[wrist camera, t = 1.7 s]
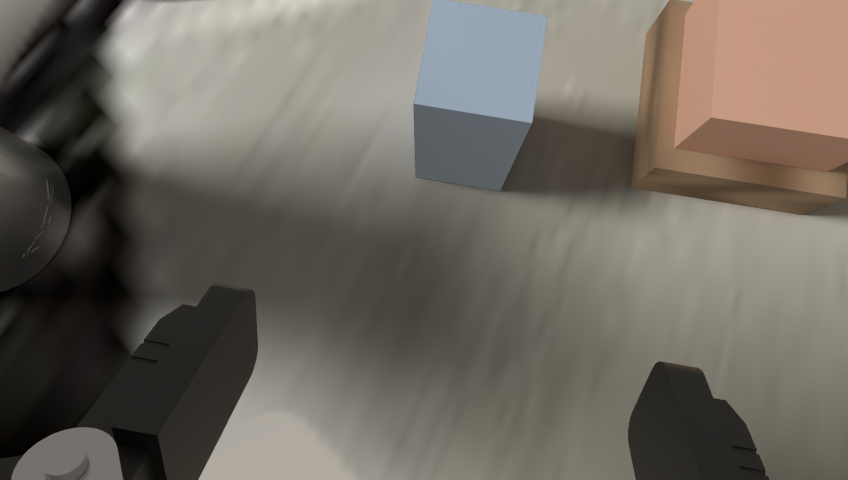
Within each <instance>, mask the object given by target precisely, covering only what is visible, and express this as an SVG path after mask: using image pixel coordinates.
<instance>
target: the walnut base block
mask: <svg viewBox="0 0 848 480" xmlns="http://www.w3.org/2000/svg"><path fill="white" fill-rule="evenodd" d="M692 4H693V3H691V2H685V1H678V0H669V2H668V3H667V5H666V6H665V8H664V9H663V10H662V12H661V13H660V15H659V16H658V18H657V19H656V21H655V22H654V24H653V25H652V26H651V28H650V29H649V31H648V32H647V34H646V41H645V51H644V61H643V71H642V81H641V91H640V101H639V111H638V121H637V131H636V141H635V151H634V160H633V170H632V180H631V187H632V188H638V189H644V190H650V191H657V192H663V193H669V194H675V195H681V196H688V197H694V198H700V199H706V200H712V201H718V202H725V203H731V204H737V205H743V206H749V207H756V208H762V209H768V210H774V211H780V212H787V213H793V214H799V215H804V214H807V213H809V212H812V211H815V210H817V209H820V208H822V207H825V206H828V205H830V204H833V203H836V202H838V201H841V200H843V199H846V198H847V163H845V164H842V165H840V166H838V167H836V168H834V169H832V170H829V171H827V172H825V171H818V170H812V169H805V168H799V167H793V166H786V165H780V164H773V163H767V162H760V161H754V160H748V159H741V158H735V157H728V156H722V155H716V154H709V153H703V152H696V151H690V150H684V149H677V148H674V145H675V133H676V121H677V109H678V97H679V85H680V73H681V61H682V49H683V37H684V25H685V13H686V12H687V11H688V9H689V8H690V7H691V5H692Z"/></svg>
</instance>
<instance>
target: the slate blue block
mask: <svg viewBox="0 0 848 480" xmlns="http://www.w3.org/2000/svg"><path fill="white" fill-rule="evenodd" d="M547 17H548V16H544V15H538V14H532V13H525V12H519V11H513V10H507V9H500V8H494V7H488V6H481V5H475V4H469V3H462V2H456V1H450V0H433V4H432V9H431V14H430V19H429V25H428V30H427V35H426V40H425V46H424V51H423V56H422V61H421V67H420V72H419V77H418V82H417V88H416V93H415V98H414V103H413V105H414V139H415V173H416V177H419V178H424V179H430V180H436V181H442V182H448V183H454V184H460V185H466V186H472V187H478V188H484V189H490V190H496V191H500V190H501V188H502V186H503V184H504V182H505V180H506V178H507V175H508V173H509V171H510V169H511V167H512V165H513V163H514V161H515V158H516V156H517V154H518V152H519V150H520V148H521V146H522V144H523V141H524V139H525V137H526V135H527V133H528V131H529V129H530V127H531V124H532V120H533V114H534V107H535V100H536V93H537V86H538V79H539V72H540V65H541V58H542V52H543V45H544V38H545V31H546V24H547Z"/></svg>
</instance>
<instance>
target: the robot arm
mask: <svg viewBox="0 0 848 480" xmlns="http://www.w3.org/2000/svg"><path fill="white" fill-rule="evenodd" d="M70 217H71V194H70V190H69V186H68V182H67V180H66V178H65V176H64V174H63V172H62V170H61V169H60V167H59V166H58V165H57V164H56V162H55V161H54V160H53V159H52V158H51V157H50V156H49V155H48V154H46V153H45V152H43V151H42V150H40V149H39V148H37V147H36V146H34V145H32V144H30V143H28V142H27V141H25V140H23V139H21V138H19V137H18V136H16V135H14V134H12V133H10V132H9V131H7V130H5V129H3V128H1V127H0V292H3V291H7V290H9V289H11V288H14V287H16V286H18V285H20V284H23V283H24V282H26V281H27V280H29V279H30V278H31V277H33V276H34V275H36V274H37V273H39V272H40V271H41V270H42V269H43V268H44V267H45V266H46V265H47V264H48V262H49V261H50V260H51V259H52V258H53V256H54V255H55V253H56V252H57V250H58V249H59V248H60V246H61V245H62V242H63V240H64V237H65V235H66V233H67V230H68V227H69V222H70ZM257 350H258V340H257V322H256V304H255V294H254V292H253V290H250V289H244V288H238V287H232V286H226V285H220V284H214V285H212V286H211V287H210V288H209V290H208V291H207V293H206V294H205V295H204V297H203V298H202V300H201V301H200V302H199V304H198V305H197V307H194V306H189V305H181V306H180V307H178V308H177V309H175V310H174V311H172V312H171V313H169V314H168V315H166V316H164V317H163V318H161V319H160V320H159V321H158V322H157V324H156V325H155V326H154V327H153V329H152V330H151V331H150V333H149V334H148V335H147V336H146V338H145V339H144V343H143V344H140V346H139V347H138V348H137V349H136V351H135V352H134V353H133V355H132V357H131V360H128V361H127V362H126V364H125V365H124V366H123V368H122V369H121V370H120V371H119V373H118V374H117V375H116V377H115V378H114V379H113V380H112V382H111V383H110V384H109V386H108V387H107V388H106V390H105V391H104V392H103V393H102V395H101V396H100V397H99V399H98V400H97V401H96V403H95V404H94V405H93V406H92V408H91V409H90V410H89V412H88V413H87V414H86V415H85V417H84V418H83V419H82V421H81V422H80V423H79V424H78V425H77V426H76V427H75V428H71V429H67V430H63V431H60V432H58V433H55V434H53V435H50V436H48V437H46V438H45V439H43V440H41V441H40V442H38V443H37V444H35V445H34V446H33V447H32V448H30V449H29V450H28V451H27V452H26V453H25V454H24V455H22V456H16V457H9V458H0V480H198V479H199V477H200V475H201V473H202V471H203V469H204V467H205V465H206V463H207V461H208V459H209V457H210V455H211V453H212V452H213V450H214V448H215V446H216V444H217V442H218V440H219V438H220V436H221V434H222V432H223V430H224V428H225V426H226V424H227V422H228V420H229V418H230V416H231V414H232V412H233V410H234V408H235V406H236V404H237V402H238V400H239V398H240V396H241V394H242V392H243V390H244V389H245V387H246V385H247V383H248V381H249V379H250V377H251V374H252V372H253V369H254V366H255V362H256V357H257ZM628 441H629V448H630V453H631V458H632V463H633V468H634V472H635V477H636V480H769V478H768V476H765V468H764V466H763V463H762V461H761V459H760V456H759V455H757V454H756V450H757V449H756V447H755V445H754V442H753V440H752V437H751V435H750V433H749V430H748V428H747V426H746V424H745V423H744V421H743V420H742V419H741V418H740V417H739V416H738V414H737V413H736V412H735V411H734V410H733V409H732V407H731V406H730V405H729V404H728V403H727V401H726V400H720V399H715V398H713V396H712V394H711V391H710V389H709V386H708V383H707V381H706V378H705V376H704V373H703V372H702V370H700V369H699V368H695V367H689V366H683V365H677V364H672V363H666V362H657V363H656V364H655V365H654V367H653V369H652V371H651V373H650V375H649V377H648V379H647V381H646V383H645V386H644V388H643V390H642V392H641V394H640V396H639V398H638V401H637V403H636V405H635V407H634V409H633V411H632V414H631V417H630V421H629V429H628Z"/></svg>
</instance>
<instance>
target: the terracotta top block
mask: <svg viewBox="0 0 848 480" xmlns="http://www.w3.org/2000/svg"><path fill="white" fill-rule="evenodd" d="M674 148H677V149H684V150H690V151H696V152H703V153H709V154H716V155H722V156H728V157H735V158H741V159H748V160H754V161H760V162H767V163H773V164H780V165H786V166H793V167H799V168H805V169H812V170H818V171H825V172H827V171H829V170H832V169H834V168H836V167H838V166H840V165H842V164H845V163H847V162H848V0H695V1H694V3H693V4H692V5H691V7H690V8H689V9H688V11H687V12H686V13H685V25H684V37H683V49H682V61H681V73H680V85H679V97H678V109H677V121H676V133H675V145H674Z"/></svg>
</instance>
